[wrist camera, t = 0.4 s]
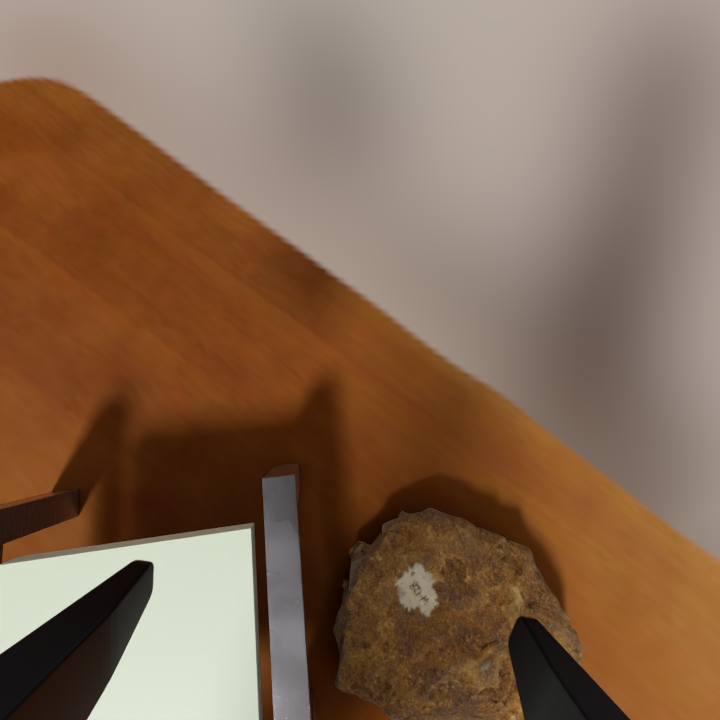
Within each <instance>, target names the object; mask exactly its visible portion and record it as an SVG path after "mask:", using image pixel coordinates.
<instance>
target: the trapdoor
mask: <svg viewBox="0 0 720 720" xmlns="http://www.w3.org/2000/svg"><path fill="white" fill-rule="evenodd" d="M134 560H144V561H150V562H152V563H153V564H154V578H153V591H152V594H151V597H150V600H149V602H148V604H147V606H146V608H145V610H144V612H143V614H142V616H141V618H140V620H139V622H138V624H137V627H136V629H135V631H134V633H133V635H132V637H131V639H130V641H129V643H128V645H127V647H126V649H125V651H124V653H123V655H122V657H121V659H120V662H119V664H118V666H117V668H116V670H115V672H114V674H113V676H112V678H111V679H110V681H109V683H108V685H107V687H106V688H105V690H104V692H103V694H102V695H101V697H100V699H99V700H98V702H97V704H96V705H95V707H94V709H93V711H92V712H91V714H90V716H89V717H88V719H87V720H263V713H262V690H261V666H260V643H259V620H258V597H257V574H256V551H255V527H254V523H248V524H241V525H234V526H227V527H220V528H213V529H206V530H199V531H192V532H185V533H179V534H172V535H165V536H158V537H151V538H144V539H137V540H130V541H123V542H116V543H109V544H102V545H95V546H88V547H81V548H74V549H67V550H60V551H53V552H46V553H39V554H32V555H25V556H18V557H16V558H13V559H11V560H9V561H6V562H4V563H2V564H0V654H1V653H3V652H4V651H6V650H7V649H8V648H10V647H11V646H13V645H14V644H15V643H17V642H18V641H20V640H21V639H23V638H24V637H25V636H27V635H28V634H30V633H31V632H33V631H34V630H35V629H37V628H38V627H40V626H41V625H42V624H44V623H45V622H47V621H48V620H50V619H51V618H52V617H54V616H55V615H57V614H58V613H60V612H61V611H62V610H64V609H65V608H67V607H68V606H69V605H71V604H72V603H74V602H75V601H77V600H78V599H79V598H81V597H82V596H84V595H85V594H87V593H88V592H89V591H91V590H92V589H94V588H95V587H96V586H98V585H99V584H101V583H102V582H104V581H105V580H106V579H108V578H109V577H111V576H112V575H114V574H115V573H116V572H118V571H119V570H121V569H122V568H123V567H125V566H126V565H128V564H129V563H131V562H132V561H134Z"/></svg>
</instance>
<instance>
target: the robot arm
mask: <svg viewBox="0 0 720 720" xmlns="http://www.w3.org/2000/svg"><path fill="white" fill-rule="evenodd" d="M153 578H154V564H153V563H152V562H150V561H144V560H134V561H132V562H131V563H129V564H128V565H126V566H125V567H123V568H122V569H121V570H119V571H118V572H116V573H115V574H114V575H112V576H111V577H109V578H108V579H106V580H105V581H104V582H102V583H101V584H99V585H98V586H96V587H95V588H94V589H92V590H91V591H89V592H88V593H87V594H85V595H84V596H82V597H81V598H79V599H78V600H77V601H75V602H74V603H72V604H71V605H69V606H68V607H67V608H65V609H64V610H62V611H61V612H60V613H58V614H57V615H55V616H54V617H52V618H51V619H50V620H48V621H47V622H45V623H44V624H42V625H41V626H40V627H38V628H37V629H35V630H34V631H33V632H31V633H30V634H28V635H27V636H25V637H24V638H23V639H21V640H20V641H18V642H17V643H15V644H14V645H13V646H11V647H10V648H8V649H7V650H6V651H4V652H3V653H1V654H0V720H87V719H88V717H89V716H90V714H91V712H92V711H93V709H94V707H95V705H96V704H97V702H98V700H99V699H100V697H101V695H102V694H103V692H104V690H105V688H106V687H107V685H108V683H109V681H110V679H111V678H112V676H113V674H114V672H115V670H116V668H117V666H118V664H119V662H120V659H121V657H122V655H123V653H124V651H125V649H126V647H127V645H128V643H129V641H130V639H131V637H132V635H133V633H134V631H135V629H136V627H137V624H138V622H139V620H140V618H141V616H142V614H143V612H144V610H145V608H146V606H147V604H148V602H149V600H150V597H151V594H152V591H153ZM508 649H509V654H510V659H511V663H512V667H513V672H514V676H515V681H516V685H517V689H518V694H519V698H520V703H521V707H522V711H523V716H524V720H630V719H629V718H628V717H627V716H626V714H625V713H624V712H623V711H622V710H621V709H620V708H619V707H618V706H617V705H616V704H615V703H614V702H613V700H612V699H611V698H610V697H609V696H608V695H607V694H606V693H605V692H604V691H603V690H602V689H601V687H600V686H599V685H598V684H597V683H596V682H595V681H594V680H593V679H592V678H591V677H590V676H589V675H588V673H587V672H586V671H585V670H584V669H583V668H582V667H581V666H580V665H579V664H578V663H577V662H576V660H575V659H574V658H573V657H572V656H571V655H570V654H569V653H568V652H567V651H566V650H565V649H564V648H563V646H562V645H561V644H560V643H559V642H558V641H557V640H556V639H555V638H554V637H553V636H552V635H551V634H550V632H549V631H548V630H547V629H546V628H545V627H544V626H543V625H542V624H541V623H540V622H539V621H538V620H537V619H535V618H533V617H526V616H519V617H518V618H517V620H516V622H515V624H514V627H513V629H512V631H511V634H510V636H509V639H508Z"/></svg>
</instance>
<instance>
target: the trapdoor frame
mask: <svg viewBox="0 0 720 720" xmlns="http://www.w3.org/2000/svg"><path fill="white" fill-rule="evenodd" d="M262 487H263V507H264V528H265V549H266V570H267V591H268V611H269V632H270V653H271V674H272V694H273V715H274V720H316V714H315V699H314V690H311V691H310V687H309V672H308V656H307V641H306V626H305V611H304V595H303V580H302V565H301V549H300V534H299V519H298V504H297V503H298V497H299V491H300V476H299V463H292V464H284V465H276V466H274V467H273V468H272V469H271V470H270V471H269V472H268V473H267V474H266V475H265V476H264V477H263V478H262ZM78 507H79V489H74V490H66V491H58V492H50V493H46V494H42V495H37V496H33V497H29V498H25V499H21V500H17V501H13V502H9V503H4V504H0V564H2V552H3V544H5V543H7V542H10V541H13V540H15V539H18V538H21V537H23V536H26V535H29V534H31V533H34V532H37V531H39V530H42V529H45V528H47V527H50V526H53V525H55V524H58V523H61V522H63V521H66V520H69V519H71V518H74V517H77V516H78Z"/></svg>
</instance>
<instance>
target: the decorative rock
mask: <svg viewBox="0 0 720 720" xmlns="http://www.w3.org/2000/svg"><path fill="white" fill-rule="evenodd" d="M349 555H350V557H351V566H350V581H349V580H346V579H344V580H343V583H342V586H343V588H344V593H343V597H342V605H341V607H340V609H339V611H338V613H337V617H336V622H335V625H334V628H333V632H334V635H335V638H336V641H337V644H338V650H339V656H340V660H339V665H338V670H337V674H336V678H335V682H334V686H335V687H336V688H338V689H339V690H341V691H343V692H344V693H349V694H354V695H356V696H357V697H359V698H360V699H361V700H364V701H368V702H371V703H373V704H375V705H377V706H378V707H379V708H381V709H382V710H383V711H384V713H385V714H386V715H387V717H388V718H389V719H390V720H394V719H397V720H524V716H523V711H522V707H521V703H520V698H519V694H518V689H517V685H516V681H515V676H514V672H513V667H512V663H511V659H510V654H509V649H508V639H509V636H510V634H511V631H512V629H513V627H514V624H515V622H516V620H517V618H518V617H519V616H526V617H533V618H535V619H537V620H538V621H539V622H540V623H541V624H542V625H543V626H544V627H545V628H546V629H547V630H548V631H549V632H550V634H551V635H552V636H553V637H554V638H555V639H556V640H557V641H558V642H559V643H560V644H561V645H562V646H563V648H564V649H565V650H566V651H567V652H568V653H569V654H570V655H571V656H572V657H573V658H574V659H575V660H576V662H577V663H578V664H579V665H580V666H581V667H582V664H581V655H582V647H581V645H580V642H579V639H578V635H577V632H576V631H575V630H574V629H572V627H571V625H570V620H569V618H568V616H567V615H566V613H565V612H564V610H563V608H562V606H561V604H560V603H559V601H558V599H557V598H556V597H555V595H554V594H553V593H552V591H551V590H550V588H549V587H548V586H547V584H546V583H545V581H544V578H543V576H542V574H541V573H540V571H539V569H538V568H537V566H536V563H535V560H534V558H533V555H532V552H531V550H530V549H529V548H528V547H527V546H525V545H522V544H519V543H516V542H513V541H510V540H506V538H505V537H504V536H501V535H499V534H496V533H492V532H490V531H487V530H485V529H483V528H478V527H476V526H474V525H473V524H472V523H471V522H469V521H467V520H466V519H464V518H461V517H456V516H451V515H448V514H446V513H443V512H440V511H438V510H435V509H433V508H428V509H426V510H424V511H421V512H417V513H410V514H408V513H406V512H403V510H402V511H401V512H400V514H399V518H396V519H393V520H391V521H388V522H386V523H384V524H383V526H382V533H380V534H379V536H378V537H377V538H376V539H375V541H374V542H373V543H372V545H368V544H367V543H365V542H363V541H358V542H357V543H356V544H355V545H354V546H353V547H352V548H351V549H350V552H349Z"/></svg>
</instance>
